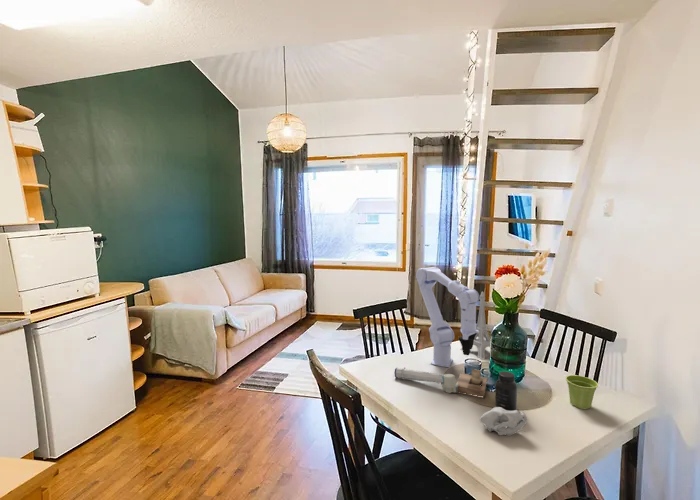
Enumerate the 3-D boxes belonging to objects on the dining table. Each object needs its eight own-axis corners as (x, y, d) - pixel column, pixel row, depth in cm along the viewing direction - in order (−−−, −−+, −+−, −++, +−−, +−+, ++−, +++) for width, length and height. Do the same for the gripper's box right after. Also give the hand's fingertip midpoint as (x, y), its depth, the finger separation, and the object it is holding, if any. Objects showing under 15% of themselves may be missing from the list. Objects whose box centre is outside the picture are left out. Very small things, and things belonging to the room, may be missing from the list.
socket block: (460, 378, 139) (461, 372, 139) (487, 384, 135) (487, 378, 135) (455, 391, 129) (455, 385, 129) (483, 398, 124) (483, 391, 124)
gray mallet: (398, 365, 143) (458, 371, 130) (400, 380, 144) (460, 388, 130) (393, 370, 139) (454, 376, 126) (395, 386, 139) (457, 394, 126)
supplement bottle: (499, 400, 123) (501, 367, 122) (519, 407, 118) (521, 374, 117) (491, 407, 118) (492, 374, 117) (512, 415, 113) (513, 380, 112)
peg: (471, 386, 133) (472, 368, 133) (480, 387, 132) (481, 370, 131) (470, 389, 131) (470, 372, 130) (479, 391, 129) (480, 373, 128)
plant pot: (567, 409, 117) (569, 384, 116) (561, 395, 126) (562, 373, 125) (600, 414, 114) (602, 389, 113) (591, 400, 123) (593, 377, 122)
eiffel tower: (479, 345, 177) (481, 288, 174) (501, 354, 165) (503, 293, 162) (460, 349, 171) (462, 290, 168) (481, 359, 159) (483, 296, 156)
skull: (477, 412, 111) (507, 391, 108) (496, 435, 109) (528, 415, 106) (478, 424, 103) (511, 402, 100) (499, 449, 102) (533, 428, 99)
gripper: (476, 325, 132) (475, 359, 133) (480, 316, 145) (480, 347, 146) (457, 322, 135) (456, 356, 136) (463, 314, 148) (463, 344, 149)
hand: (467, 351), depth 141 cm, fingers open, 7 cm apart
